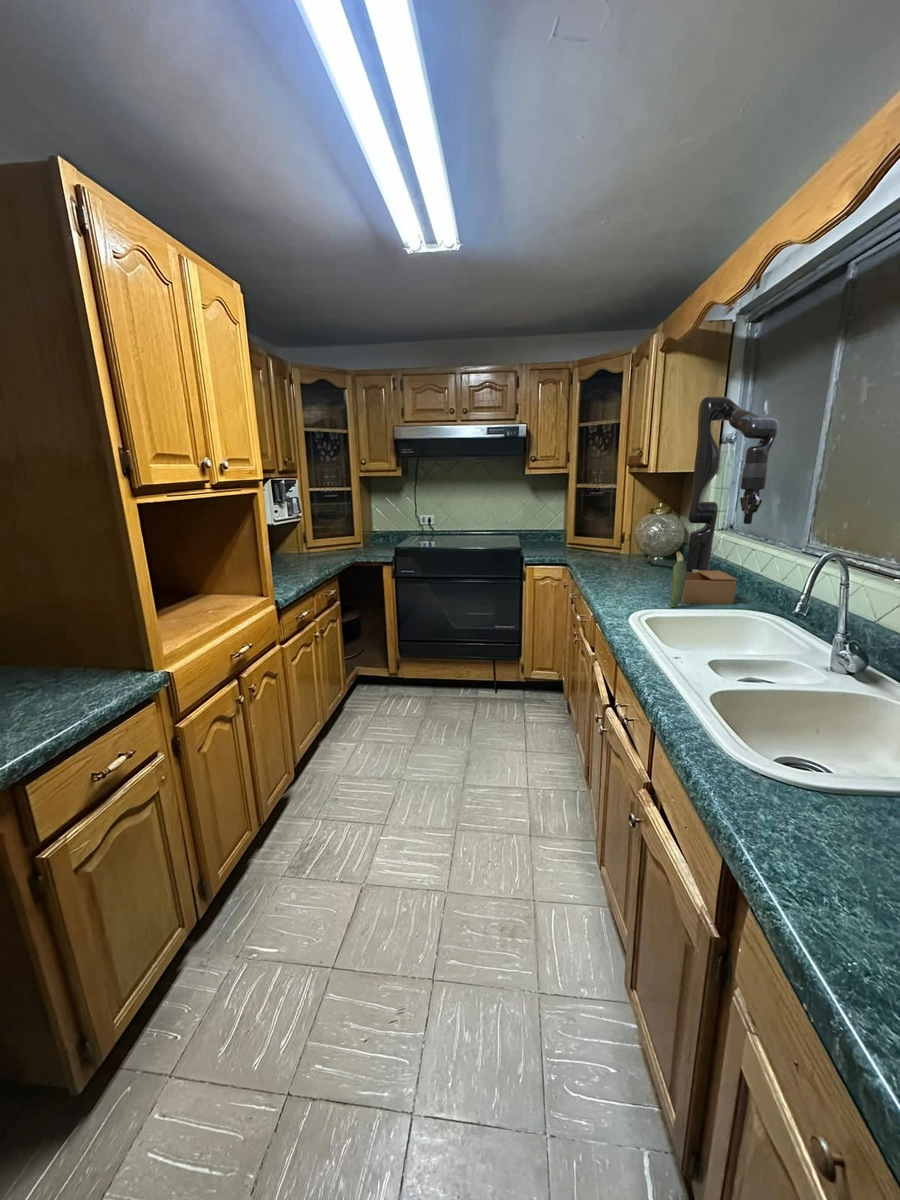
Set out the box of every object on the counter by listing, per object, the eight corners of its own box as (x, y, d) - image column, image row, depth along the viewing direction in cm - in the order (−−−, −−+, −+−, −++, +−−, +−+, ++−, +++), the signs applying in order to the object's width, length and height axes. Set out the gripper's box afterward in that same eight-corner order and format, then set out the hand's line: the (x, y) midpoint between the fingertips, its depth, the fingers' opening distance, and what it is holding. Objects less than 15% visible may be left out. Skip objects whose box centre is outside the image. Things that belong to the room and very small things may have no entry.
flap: (696, 571, 185) (696, 570, 185) (719, 571, 184) (720, 570, 184) (711, 579, 171) (711, 578, 171) (736, 580, 170) (736, 578, 170)
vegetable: (679, 606, 171) (686, 550, 166) (684, 609, 167) (691, 552, 161) (666, 606, 171) (672, 550, 166) (671, 609, 167) (677, 552, 162)
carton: (670, 593, 189) (673, 572, 187) (717, 594, 186) (719, 572, 184) (683, 603, 174) (685, 580, 172) (733, 604, 172) (736, 581, 170)
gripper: (735, 476, 183) (729, 521, 188) (751, 476, 170) (744, 525, 175) (756, 475, 182) (750, 521, 187) (774, 476, 169) (766, 525, 174)
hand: (747, 523), depth 181 cm, fingers closed
